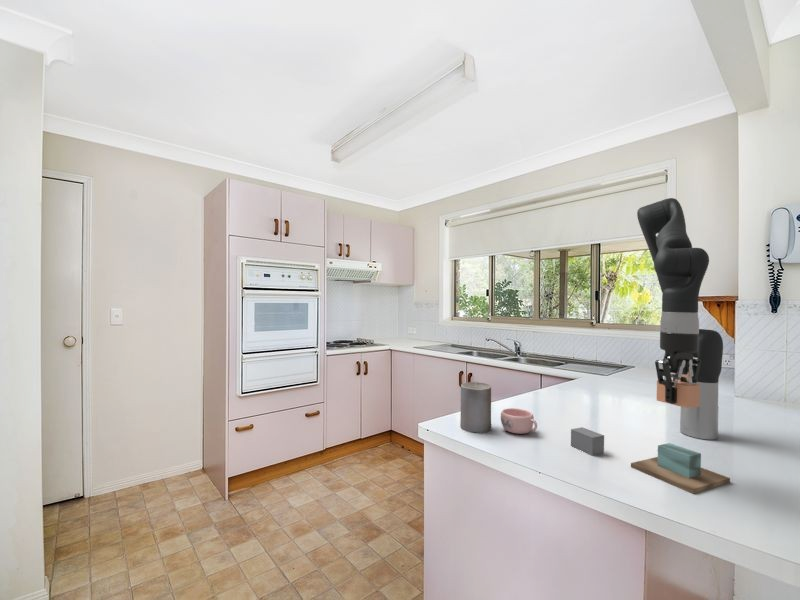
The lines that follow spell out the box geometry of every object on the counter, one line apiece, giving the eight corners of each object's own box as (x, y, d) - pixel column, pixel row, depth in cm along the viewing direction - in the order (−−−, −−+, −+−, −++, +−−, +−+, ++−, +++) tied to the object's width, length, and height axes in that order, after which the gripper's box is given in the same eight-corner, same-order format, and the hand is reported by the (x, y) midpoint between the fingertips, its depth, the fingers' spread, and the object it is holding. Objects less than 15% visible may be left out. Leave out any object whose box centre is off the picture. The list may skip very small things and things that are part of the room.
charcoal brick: (582, 444, 109) (582, 427, 109) (603, 453, 103) (604, 435, 102) (570, 446, 107) (571, 429, 107) (592, 456, 101) (592, 437, 101)
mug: (493, 429, 120) (494, 411, 120) (512, 423, 126) (512, 406, 126) (527, 441, 110) (527, 421, 110) (545, 434, 116) (546, 415, 116)
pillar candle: (475, 421, 128) (475, 376, 128) (497, 429, 120) (497, 382, 120) (453, 426, 122) (454, 380, 122) (475, 435, 114) (475, 386, 114)
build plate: (666, 458, 100) (666, 435, 100) (729, 482, 87) (730, 456, 87) (630, 466, 94) (631, 442, 94) (693, 493, 81) (693, 466, 81)
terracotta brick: (668, 399, 95) (668, 379, 95) (699, 406, 89) (699, 385, 89) (656, 400, 93) (657, 380, 93) (687, 408, 87) (687, 386, 87)
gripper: (681, 329, 97) (679, 396, 97) (643, 330, 92) (642, 400, 92) (714, 332, 90) (713, 403, 90) (676, 332, 85) (675, 409, 85)
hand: (677, 401), depth 91 cm, fingers closed on terracotta brick, 4 cm apart
